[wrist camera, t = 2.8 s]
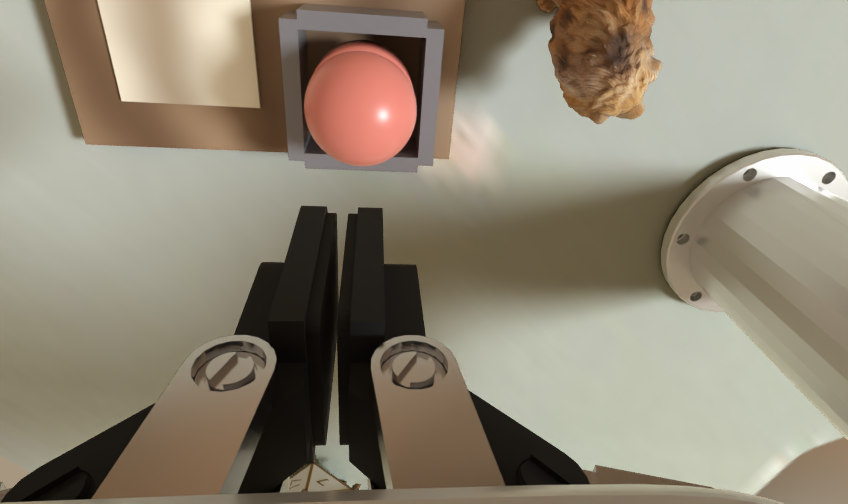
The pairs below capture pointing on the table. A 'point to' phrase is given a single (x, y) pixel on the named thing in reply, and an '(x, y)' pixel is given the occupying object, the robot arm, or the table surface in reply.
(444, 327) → the table surface
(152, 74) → the brown flat square board
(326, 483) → the game die
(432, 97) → the dome housing
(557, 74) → the lion figurine
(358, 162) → the pop dome
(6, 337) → the table surface
